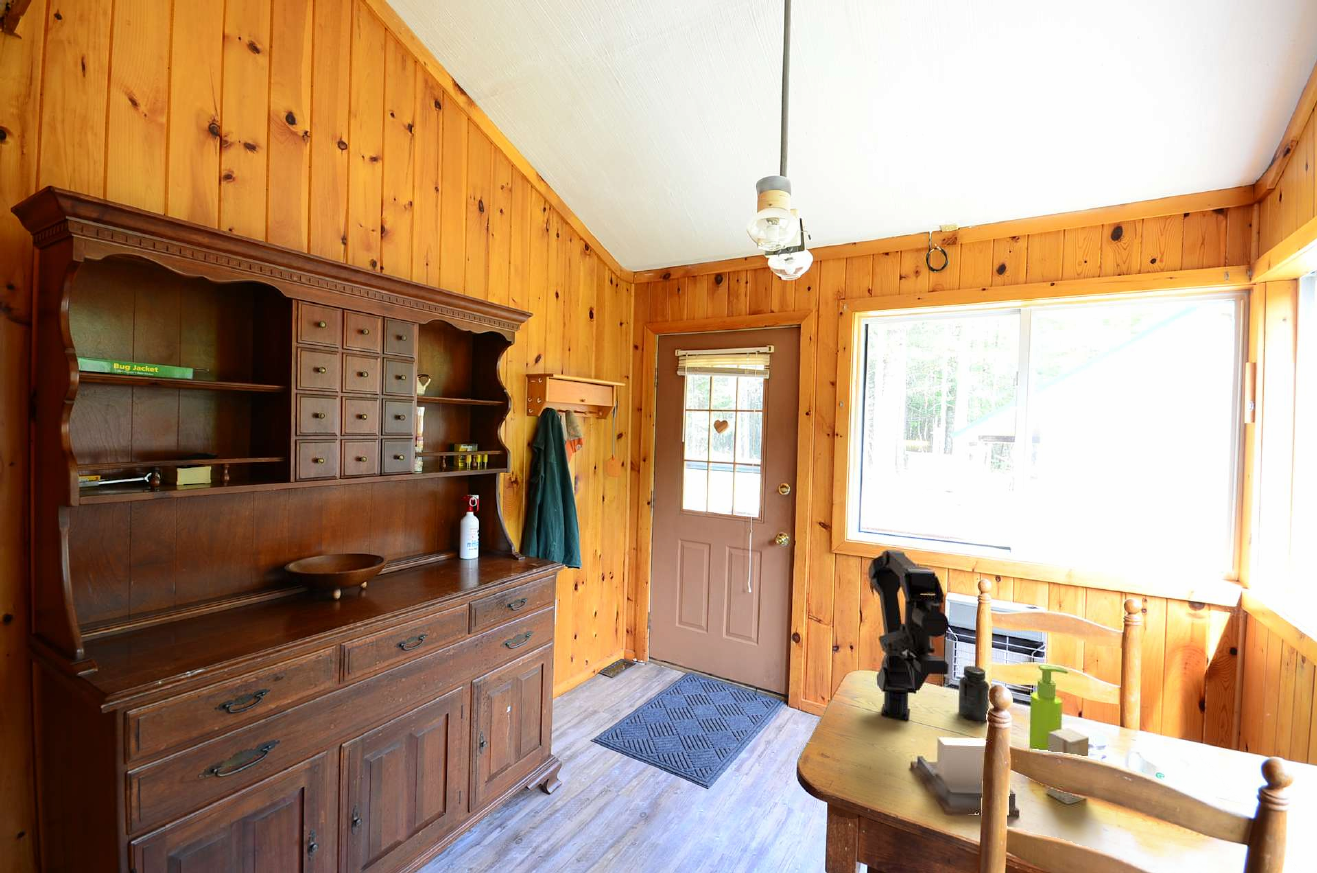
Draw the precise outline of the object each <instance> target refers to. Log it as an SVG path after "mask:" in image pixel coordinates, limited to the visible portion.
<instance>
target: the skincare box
mask: <svg viewBox="0 0 1317 873" xmlns="http://www.w3.org/2000/svg"><path fill="white" fill-rule="evenodd" d="M1089 738H1090V737H1089V736H1087V735H1084V734H1083V733H1080V732H1078V731H1076V730H1073V729H1071V728H1069V727H1065V728H1061V730H1056V731H1053V732H1049V737H1048V751H1051V752H1063V753H1070V754H1077V755H1081V756H1088V757H1089ZM1046 793H1047V794H1048V795H1050V796H1052V797H1054V798H1055V799H1057V800H1059V801H1061V802H1062V803H1065V804H1067V805H1070V804H1074V803H1076V802H1081V801H1082V800H1083V801H1084V800H1087V798H1081V797H1079V796H1075V795H1072V794H1069V793H1064V792H1061V791H1057V790H1055V789H1051V788H1050V787H1047V786H1046Z"/></svg>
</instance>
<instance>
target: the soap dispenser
mask: <svg viewBox="0 0 1317 873" xmlns="http://www.w3.org/2000/svg"><path fill="white" fill-rule="evenodd" d="M1038 670H1040V671H1041V672H1042V673H1041V674H1042V675H1041V676H1042V677H1041V678H1038V679H1037V687H1036V688H1037V691H1034V692H1031V693H1030V707H1029V708H1030V709H1029V710H1030V714H1029V715H1030V717H1029V749H1030V748H1031V749H1039V750H1048V737H1049V732H1053V731H1056V730H1061V729H1062V724H1063V723H1062V721H1063V719H1062V718H1063V717H1062V715H1063V700H1062V699H1061V698H1060V697H1058V696H1056V686H1057V684H1056V682H1055V681H1053V680H1052V672H1053V673H1054V672H1056V673H1061V674H1062V673H1063V674H1068V673H1069V671H1068V670H1067V669H1064V668H1063V667H1060V666H1054V665H1043V664H1042V665H1038Z"/></svg>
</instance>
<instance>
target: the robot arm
mask: <svg viewBox="0 0 1317 873" xmlns="http://www.w3.org/2000/svg"><path fill="white" fill-rule="evenodd" d="M868 578H869V579H870V581H871V586H872V588H873V590H875V592H876V593H877V595H878V596H879V602H880V608H881V609H880V610H881V617H882V626H883V635H880V636H879V637H878V642H879V645H880V648H881V650H882V652H884V653H885V654H884V657H883V658H882V660H881V667H880V669H879V671H878V673H877V674H876V684H877V687H878V688H879V689H880V691H881V692H882V693H883V695H884V696H883V703H882V708H881V716H882V717H889V718H894V719H898V720H902V719H903V721H910V715H911V714H910V713H911V709H910V708H909V694H914V695H915V694H917V691H920V690H921V688H922V687H923V685H924V683H925V681H926V679H927V678H928V677H929V675H949V674H950V665H949V663H948V662H946V660H945V659H943V658H942V657H941V656H939V655H938V654H934V653H935V648H934V647H933V646H932V637H933V638H939V637H941V636H943V635H945V634H946V633H947V632H948V629H949V627H950V622H949V619H948V617H947V615H946V614H945V613H943V611H941V609H940V608H941V606H940V604H944V591H943V588H942V585H941V583H940V582H941V581H940V579H939V577H938V575H937V574H936V573H935V571H934V570H933V569H931V568H929V567H925V566H919V565H917V564H916V563H914V562H913V561H912V560H911V559H910V558H909V557H908V556H906V554H905V552H904V551H902V550H895V549H894V550H893V549H892V550H891V549H890V550H889V549H887V550H884V551H882V553H881V555H879V556H877V557H875V558H874V559H872V560H871V563H870V564H869V567H868ZM900 589H901V590H902V594H903V597H904V599H905V600H904V601H905V603H904V622H902V616H901V609H900V608H901V607H900V603H899V595H898V594H899V592H900Z"/></svg>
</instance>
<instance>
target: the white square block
mask: <svg viewBox="0 0 1317 873" xmlns="http://www.w3.org/2000/svg"><path fill="white" fill-rule="evenodd" d="M986 742H987V741H986V739H985V738H979V737H978V738H977V737H976V738H975V737H972V738H971V737H944V736H943V737H941V736H938V737H937V745H936V746H937V749H936V750H937V753H936V762H937V775H938V776H939V777H940V778H941V780H942V781H943V782H944V783H945V784H946V786H947V787H957V788H982V781H983V758H984V752H985V745H986Z"/></svg>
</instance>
